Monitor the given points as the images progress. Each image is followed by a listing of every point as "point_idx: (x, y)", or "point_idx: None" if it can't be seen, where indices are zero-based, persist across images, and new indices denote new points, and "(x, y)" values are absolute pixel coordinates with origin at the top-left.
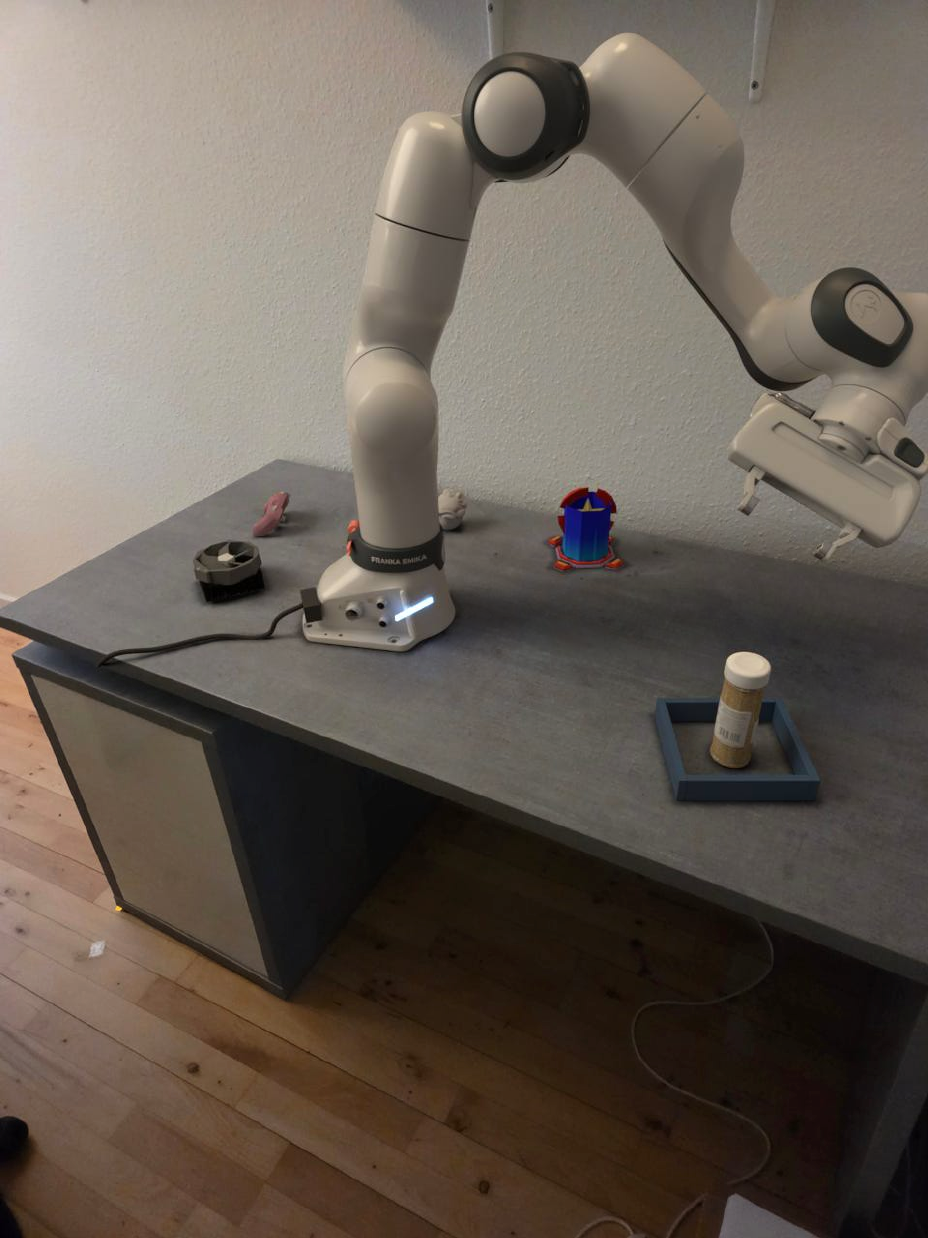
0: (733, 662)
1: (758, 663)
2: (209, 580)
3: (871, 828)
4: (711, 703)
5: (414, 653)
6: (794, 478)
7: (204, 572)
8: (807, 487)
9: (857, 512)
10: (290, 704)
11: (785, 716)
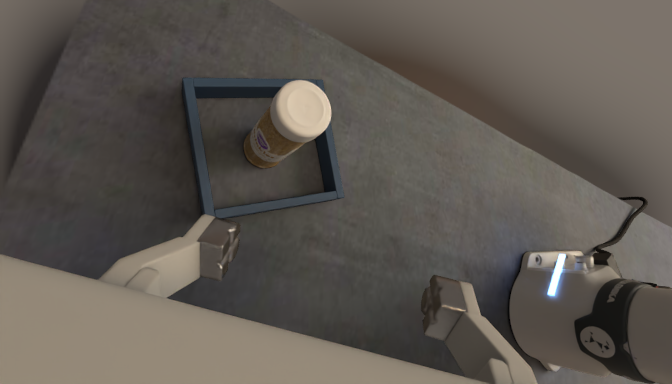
0: (325, 107)
1: (293, 105)
2: (658, 287)
3: (125, 52)
4: (289, 198)
5: (517, 253)
6: (408, 379)
7: (669, 287)
8: (342, 360)
9: (109, 314)
10: (557, 176)
11: (206, 182)
